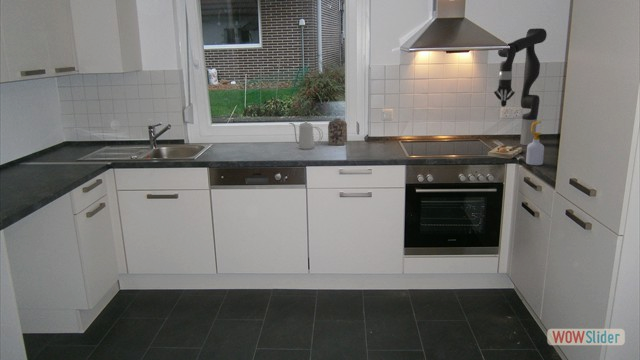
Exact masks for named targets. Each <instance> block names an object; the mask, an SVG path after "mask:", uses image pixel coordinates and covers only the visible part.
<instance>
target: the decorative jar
mask: <svg viewBox="0 0 640 360" xmlns="http://www.w3.org/2000/svg"><path fill="white" fill-rule="evenodd" d="M327 129H328V130H327V137H328V139H327V141H328V146H345V145H346V144H347V143H348V124H347V122H346V121H345V120H342V118H341V117H339V118H338V117H337V118H333V120H331V121H329V122H328V126H327Z"/></svg>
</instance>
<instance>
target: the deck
mask: <svg viewBox="0 0 640 360" xmlns="http://www.w3.org/2000/svg"><path fill="white" fill-rule="evenodd" d="M502 147H503V148H506V150H507V153H500V152H498V151H499V149H500V148H502ZM522 152H523V147H521V146H519V147H518V144H515V145H514V146H512V145H511V146H510V145H507V143H504V144H502V145H498V146H497V147H495V148H493V149H491V150H490V151H488V152H487V157H491V158H492V157H493V158H500V159H501V158H502V159H509V160H510V159H512V158H514V157H515V156H517V155H519V154H520V153H522Z"/></svg>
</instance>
